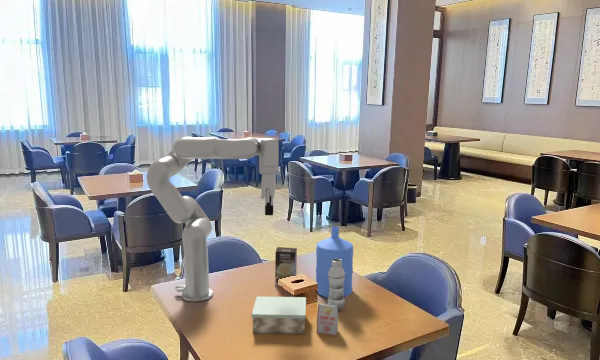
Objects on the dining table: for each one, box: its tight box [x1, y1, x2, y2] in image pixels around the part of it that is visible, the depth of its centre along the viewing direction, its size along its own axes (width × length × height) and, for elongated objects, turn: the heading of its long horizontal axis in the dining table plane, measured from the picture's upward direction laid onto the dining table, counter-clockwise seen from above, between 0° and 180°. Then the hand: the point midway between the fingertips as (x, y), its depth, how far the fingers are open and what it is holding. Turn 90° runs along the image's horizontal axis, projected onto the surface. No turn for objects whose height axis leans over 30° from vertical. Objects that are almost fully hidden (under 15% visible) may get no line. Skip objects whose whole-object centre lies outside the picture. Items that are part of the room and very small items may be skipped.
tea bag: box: [316, 303, 339, 337], centre depth 158 cm, size 4×7×10 cm, turn 74°
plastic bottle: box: [327, 259, 346, 312], centre depth 175 cm, size 6×7×20 cm
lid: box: [251, 296, 307, 320], centre depth 163 cm, size 19×15×1 cm
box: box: [252, 318, 306, 335], centre depth 164 cm, size 18×14×6 cm
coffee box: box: [274, 246, 298, 287], centre depth 199 cm, size 9×6×16 cm
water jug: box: [315, 226, 354, 299], centre depth 191 cm, size 16×16×28 cm
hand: (269, 214), depth 181 cm, fingers closed
